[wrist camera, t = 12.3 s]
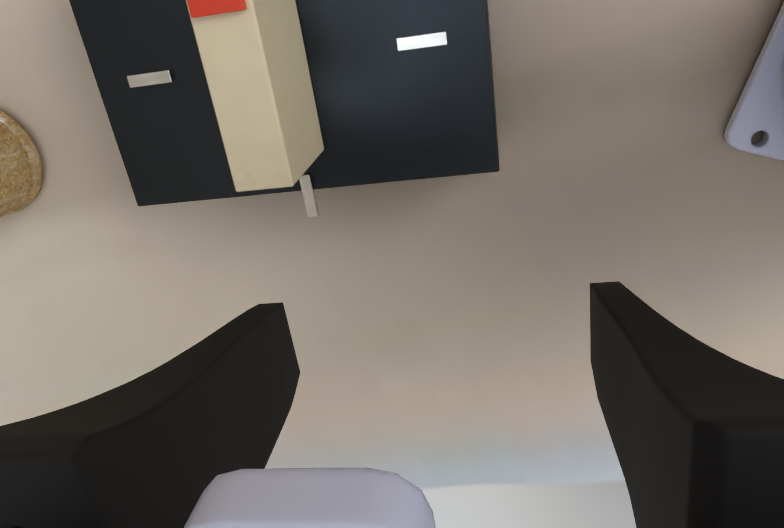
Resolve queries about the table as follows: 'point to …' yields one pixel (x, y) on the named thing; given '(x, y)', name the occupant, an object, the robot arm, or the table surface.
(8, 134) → the sprinkles bottle
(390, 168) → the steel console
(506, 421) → the table surface
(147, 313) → the table surface
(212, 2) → the bar knob
